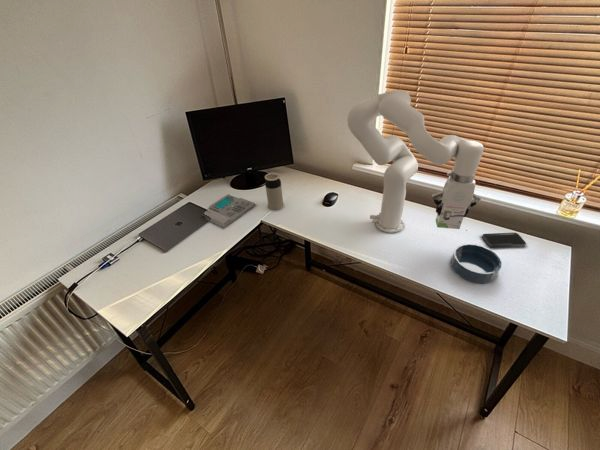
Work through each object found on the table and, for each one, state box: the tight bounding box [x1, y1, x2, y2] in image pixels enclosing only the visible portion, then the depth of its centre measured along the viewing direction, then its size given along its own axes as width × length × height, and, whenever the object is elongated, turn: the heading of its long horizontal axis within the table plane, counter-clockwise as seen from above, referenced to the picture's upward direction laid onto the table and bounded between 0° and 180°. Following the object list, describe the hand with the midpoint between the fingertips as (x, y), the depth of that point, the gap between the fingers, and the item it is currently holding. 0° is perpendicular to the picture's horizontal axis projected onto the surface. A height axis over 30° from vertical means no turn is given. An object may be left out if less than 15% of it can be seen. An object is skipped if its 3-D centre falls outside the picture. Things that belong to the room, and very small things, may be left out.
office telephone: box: [203, 193, 256, 229], centre depth 159 cm, size 23×3×20 cm
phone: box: [481, 232, 527, 249], centre depth 130 cm, size 8×1×15 cm
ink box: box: [435, 204, 467, 230], centre depth 120 cm, size 9×5×12 cm, turn 78°
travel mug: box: [264, 172, 284, 211], centre depth 155 cm, size 8×8×18 cm
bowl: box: [450, 243, 502, 284], centre depth 118 cm, size 16×16×6 cm
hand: (450, 214), depth 120 cm, fingers closed on ink box, 8 cm apart
